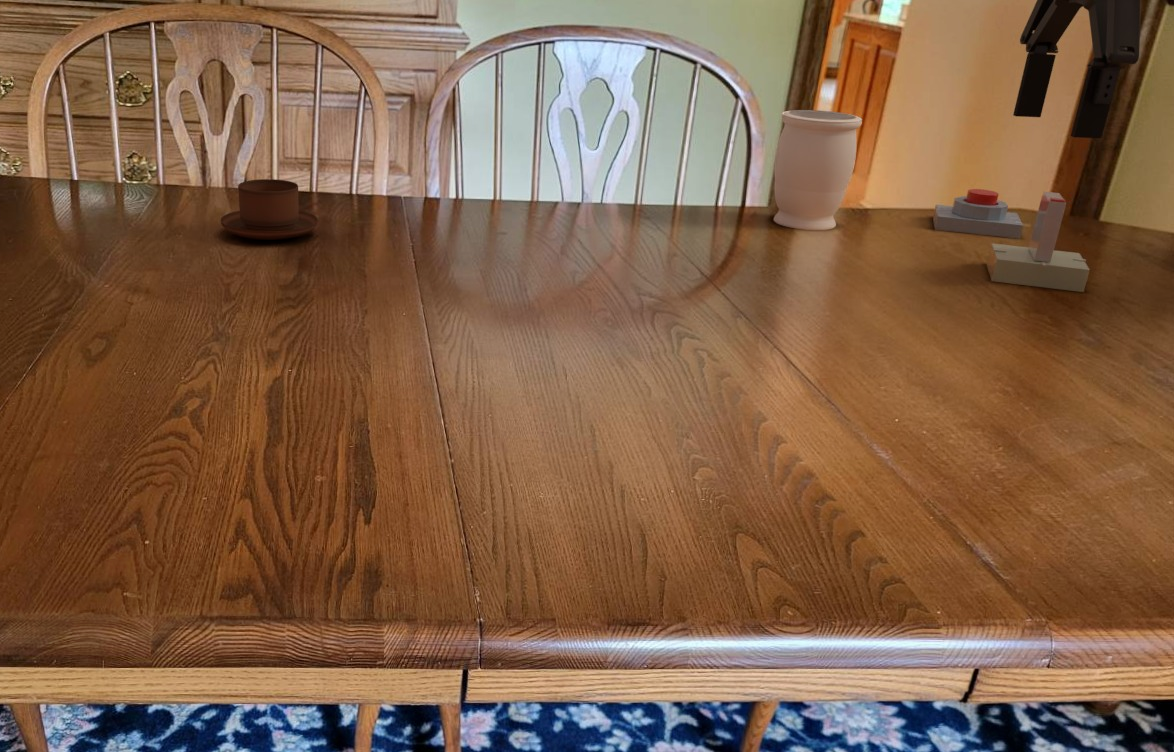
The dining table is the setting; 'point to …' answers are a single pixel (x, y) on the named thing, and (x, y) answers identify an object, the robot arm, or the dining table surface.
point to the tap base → (1037, 268)
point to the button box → (977, 219)
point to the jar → (813, 167)
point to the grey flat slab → (1047, 226)
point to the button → (982, 197)
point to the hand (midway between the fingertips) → (1054, 126)
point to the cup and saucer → (269, 211)
